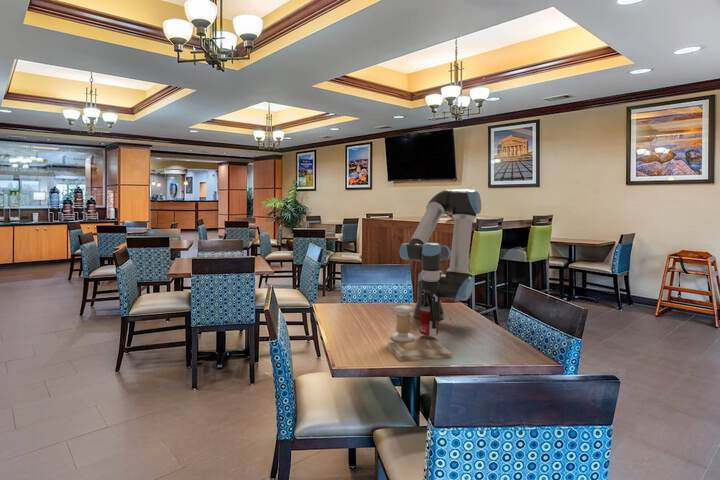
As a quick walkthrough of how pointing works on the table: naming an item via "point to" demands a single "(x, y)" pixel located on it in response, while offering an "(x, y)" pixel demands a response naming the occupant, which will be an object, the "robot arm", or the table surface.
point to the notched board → (420, 352)
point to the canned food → (426, 321)
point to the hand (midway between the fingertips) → (428, 332)
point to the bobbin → (403, 324)
